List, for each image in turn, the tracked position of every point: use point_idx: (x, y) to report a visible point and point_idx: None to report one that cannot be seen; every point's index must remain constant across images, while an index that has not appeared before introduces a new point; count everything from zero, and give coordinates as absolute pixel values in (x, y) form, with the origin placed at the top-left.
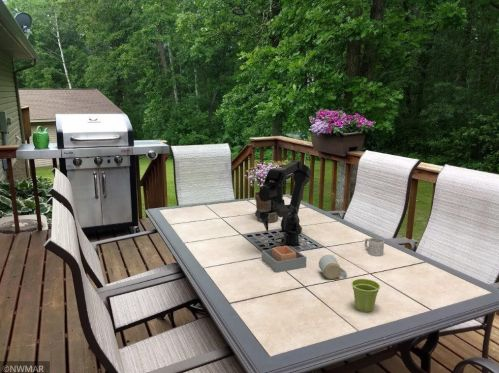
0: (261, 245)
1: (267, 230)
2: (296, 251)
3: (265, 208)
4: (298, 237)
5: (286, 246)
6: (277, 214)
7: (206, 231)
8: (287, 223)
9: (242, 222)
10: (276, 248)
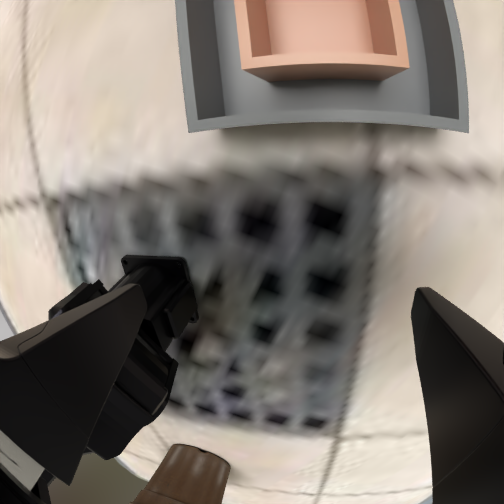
0: (325, 335)
1: (434, 292)
2: (187, 15)
3: (197, 493)
4: (108, 291)
5: (247, 51)
6: (165, 460)
7: (417, 461)
8: (73, 312)
9: (279, 475)
10: (363, 55)
